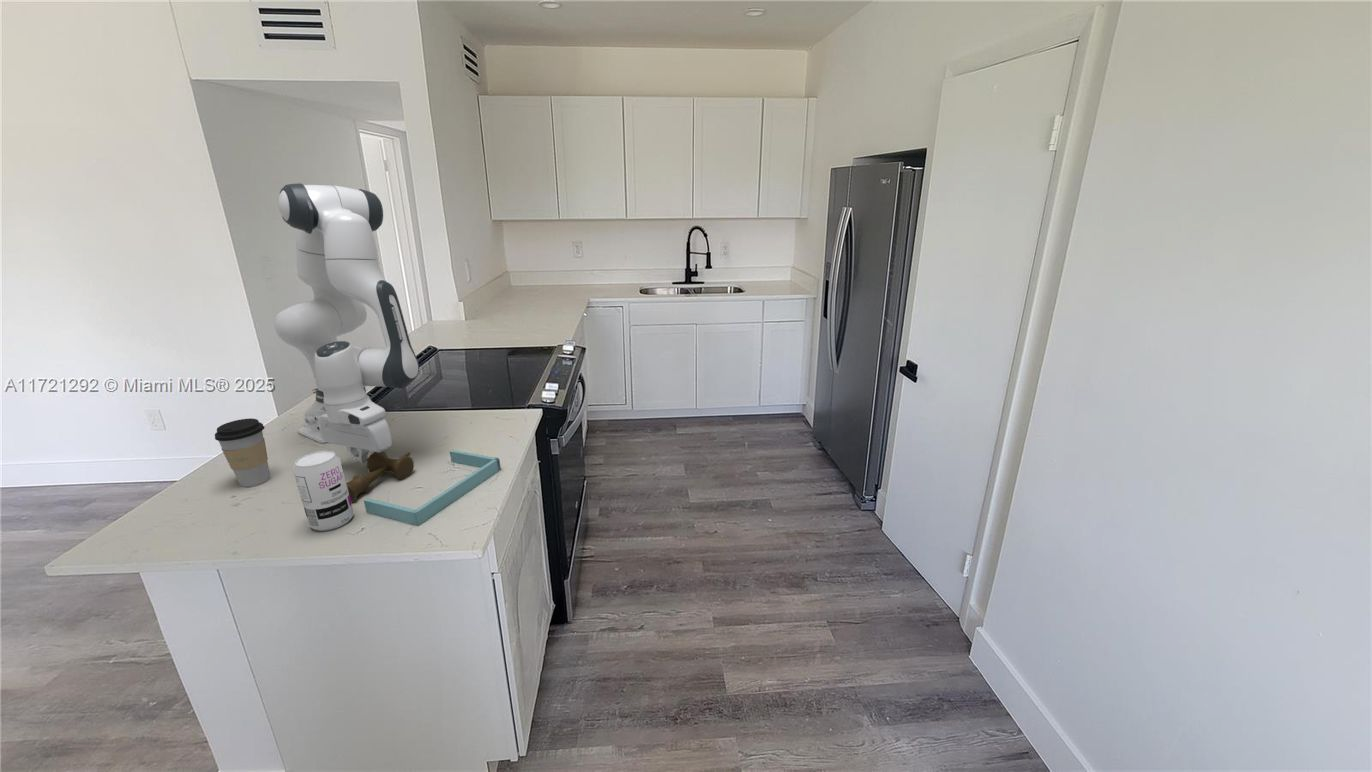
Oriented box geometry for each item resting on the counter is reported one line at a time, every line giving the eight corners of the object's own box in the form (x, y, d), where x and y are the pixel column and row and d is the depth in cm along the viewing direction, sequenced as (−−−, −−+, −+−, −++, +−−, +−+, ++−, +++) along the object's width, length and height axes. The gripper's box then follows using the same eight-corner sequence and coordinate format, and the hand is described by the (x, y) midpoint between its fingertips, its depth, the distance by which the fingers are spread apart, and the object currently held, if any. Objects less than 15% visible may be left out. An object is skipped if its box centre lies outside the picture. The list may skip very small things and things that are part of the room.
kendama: (330, 501, 126) (397, 460, 144) (363, 509, 124) (427, 466, 141) (323, 479, 124) (392, 440, 142) (357, 486, 121) (423, 445, 139)
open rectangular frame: (366, 512, 121) (363, 500, 120) (454, 460, 143) (452, 449, 142) (418, 525, 115) (415, 513, 114) (500, 469, 138) (499, 458, 137)
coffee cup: (227, 494, 130) (207, 436, 125) (236, 477, 138) (217, 422, 133) (275, 484, 134) (258, 427, 129) (281, 468, 142) (265, 414, 137)
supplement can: (322, 512, 121) (305, 450, 116) (361, 509, 122) (346, 448, 117) (301, 534, 114) (281, 469, 109) (343, 531, 114) (325, 466, 109)
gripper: (306, 409, 133) (320, 461, 138) (367, 420, 126) (379, 473, 131) (330, 400, 139) (343, 450, 143) (390, 410, 131) (401, 462, 136)
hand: (361, 461), depth 137 cm, fingers closed
